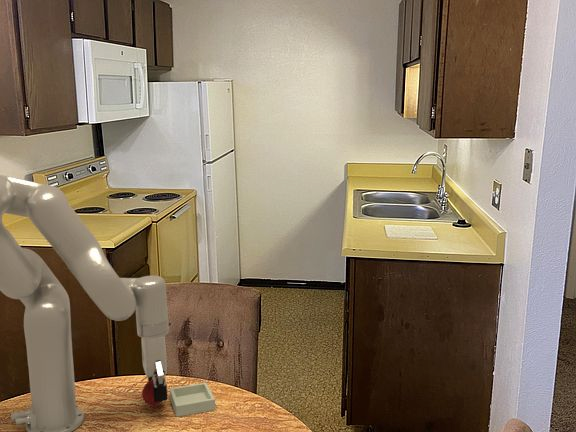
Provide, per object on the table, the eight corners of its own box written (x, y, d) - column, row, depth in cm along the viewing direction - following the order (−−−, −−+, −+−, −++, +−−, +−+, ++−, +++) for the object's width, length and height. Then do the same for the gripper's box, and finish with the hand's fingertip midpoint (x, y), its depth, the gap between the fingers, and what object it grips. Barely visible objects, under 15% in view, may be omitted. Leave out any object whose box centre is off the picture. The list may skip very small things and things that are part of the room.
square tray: (176, 417, 137) (176, 406, 136) (169, 398, 145) (169, 388, 145) (215, 409, 140) (215, 399, 139) (206, 392, 149) (206, 382, 148)
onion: (153, 415, 137) (151, 384, 136) (137, 407, 141) (136, 377, 139) (171, 405, 142) (170, 375, 140) (156, 398, 145) (155, 369, 144)
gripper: (133, 317, 144) (138, 379, 148) (141, 342, 128) (147, 411, 132) (162, 312, 147) (167, 374, 150) (174, 337, 131) (179, 405, 134)
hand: (157, 391), depth 141 cm, fingers open, 9 cm apart
